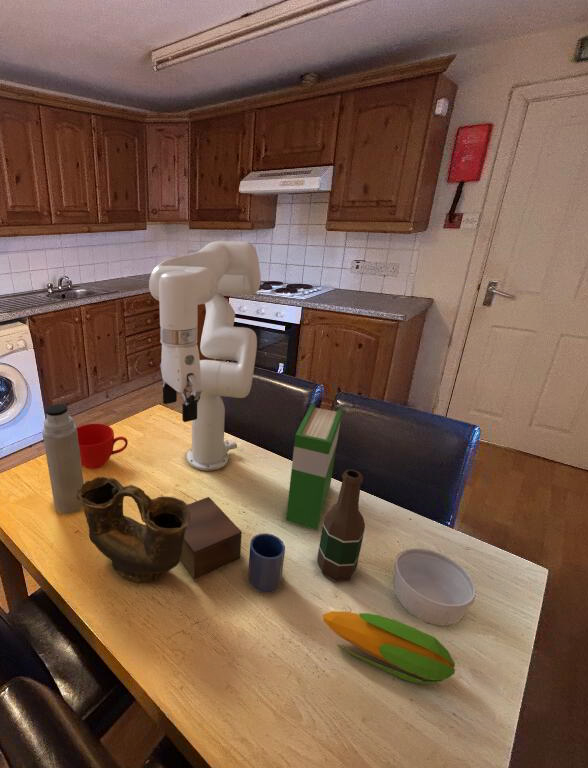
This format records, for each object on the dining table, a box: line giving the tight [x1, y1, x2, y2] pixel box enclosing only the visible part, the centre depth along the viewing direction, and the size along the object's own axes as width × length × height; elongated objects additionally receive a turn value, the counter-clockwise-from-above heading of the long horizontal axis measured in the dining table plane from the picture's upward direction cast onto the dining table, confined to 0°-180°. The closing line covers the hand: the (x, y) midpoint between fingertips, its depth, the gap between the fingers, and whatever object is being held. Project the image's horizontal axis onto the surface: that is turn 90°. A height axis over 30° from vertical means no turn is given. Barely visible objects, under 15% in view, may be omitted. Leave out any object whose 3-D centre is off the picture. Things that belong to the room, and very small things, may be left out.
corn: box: [322, 610, 456, 685], centre depth 69 cm, size 7×8×20 cm
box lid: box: [184, 496, 243, 555], centre depth 90 cm, size 13×12×1 cm
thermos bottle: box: [41, 403, 85, 515], centre depth 102 cm, size 8×8×28 cm
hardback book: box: [285, 403, 343, 531], centre depth 102 cm, size 18×7×24 cm, turn 152°
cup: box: [247, 532, 286, 594], centre depth 84 cm, size 7×7×9 cm
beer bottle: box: [316, 469, 366, 582], centre depth 83 cm, size 8×8×24 cm
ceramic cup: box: [77, 423, 129, 470], centre depth 123 cm, size 13×17×10 cm
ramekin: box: [393, 547, 477, 626], centre depth 79 cm, size 13×13×7 cm
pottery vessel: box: [77, 476, 191, 584], centre depth 86 cm, size 25×11×20 cm, turn 64°
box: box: [180, 535, 243, 581], centre depth 92 cm, size 13×12×7 cm
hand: (179, 411), depth 90 cm, fingers open, 9 cm apart
